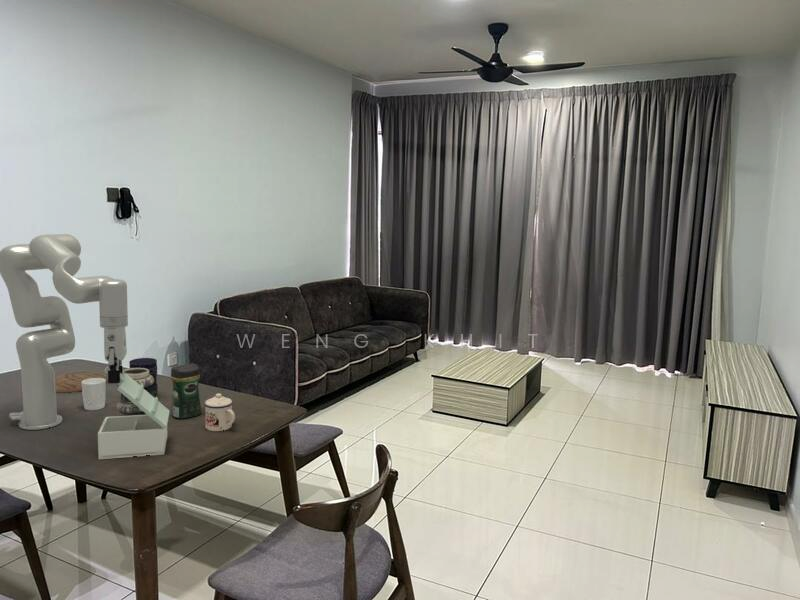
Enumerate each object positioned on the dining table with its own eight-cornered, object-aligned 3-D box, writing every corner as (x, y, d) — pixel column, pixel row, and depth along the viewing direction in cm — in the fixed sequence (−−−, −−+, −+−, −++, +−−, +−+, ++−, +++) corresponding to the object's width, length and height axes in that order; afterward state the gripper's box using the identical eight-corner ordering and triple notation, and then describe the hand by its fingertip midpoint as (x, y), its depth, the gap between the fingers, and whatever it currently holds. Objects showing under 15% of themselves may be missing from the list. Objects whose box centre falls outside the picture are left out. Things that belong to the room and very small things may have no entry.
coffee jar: (193, 409, 223) (193, 360, 220) (204, 415, 218) (203, 365, 215) (168, 415, 216) (167, 364, 213) (178, 421, 211) (177, 369, 208)
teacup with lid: (198, 427, 206) (198, 394, 204) (219, 420, 213) (219, 388, 211) (223, 436, 199) (223, 402, 198) (244, 428, 207) (244, 395, 205)
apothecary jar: (157, 414, 217) (156, 365, 214) (153, 426, 205) (152, 374, 203) (120, 415, 213) (119, 366, 211) (114, 428, 202) (112, 376, 199)
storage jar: (161, 395, 237) (161, 358, 235) (152, 403, 227) (151, 365, 225) (136, 394, 237) (135, 357, 234) (125, 402, 227) (124, 364, 225)
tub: (98, 459, 178) (97, 433, 177) (106, 441, 191) (105, 416, 190) (164, 454, 183) (163, 429, 182) (167, 437, 197) (166, 413, 195)
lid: (100, 375, 175) (105, 371, 175) (108, 363, 188) (113, 359, 188) (164, 428, 182) (168, 424, 182) (167, 413, 195) (171, 409, 196)
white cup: (81, 412, 216) (80, 384, 214) (83, 405, 223) (82, 378, 221) (106, 409, 219) (105, 383, 217) (107, 403, 226) (106, 377, 224)
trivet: (65, 398, 230) (65, 393, 230) (23, 387, 240) (23, 383, 240) (121, 382, 252) (121, 377, 252) (80, 372, 263) (79, 368, 262)
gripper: (123, 326, 173) (125, 388, 176) (131, 315, 189) (132, 372, 192) (94, 327, 171) (96, 389, 174) (104, 315, 186) (106, 373, 189)
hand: (115, 380), depth 183 cm, fingers closed on lid, 4 cm apart
